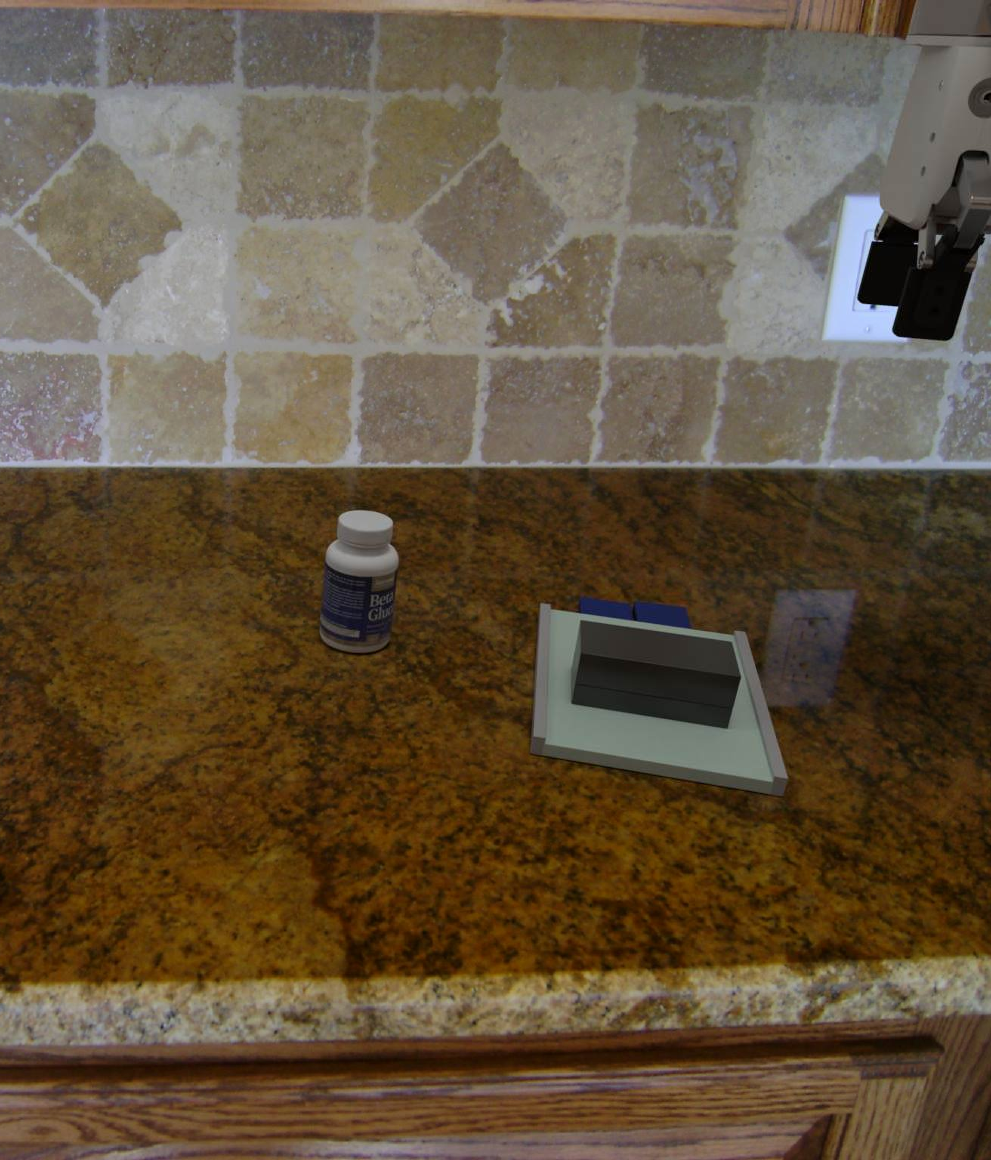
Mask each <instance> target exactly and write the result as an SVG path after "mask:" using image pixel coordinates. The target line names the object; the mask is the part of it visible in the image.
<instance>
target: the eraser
mask: <svg viewBox="0 0 991 1160" xmlns="http://www.w3.org/2000/svg"><path fill="white" fill-rule="evenodd" d="M740 680H741V674H740V670H739V667H738V663H737V659H736V655H735V651H734V648H733V644H732V642H730V641H724V640H717V639H710V638H703V637H696V636H689V635H682V634H675V633H668V632H661V631H654V630H647V629H640V628H633V627H626V626H619V625H613V624H606V623H599V622H592V621H585V620H580V625H579V630H578V636H577V641H576V647H575V652H574V658H573V663H572V668H571V703H572V704H577V705H583V706H589V707H596V708H602V709H608V710H614V711H621V712H627V713H633V714H639V715H646V716H652V717H658V718H664V719H670V720H677V721H683V722H689V723H695V724H702V725H708V726H714V727H720V728H728V726H729V722H730V718H731V714H732V710H733V707H734V703H735V699H736V695H737V692H738V688H739V684H740Z"/></svg>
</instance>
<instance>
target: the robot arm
mask: <svg viewBox="0 0 991 1160" xmlns="http://www.w3.org/2000/svg"><path fill="white" fill-rule="evenodd" d="M904 46H921V49H920V52H919V54H918V57H917V61H916V64H915V67H914V70H913V73H912V76H911V78H910V79H909V86H908V89H907V91H906V95H905V98H904V101H903V104H902V108H901V110H900V115H899V118H898V121H897V125H896V128H895V131H894V135H893V139H892V143H891V146H890V149H889V154H888V158H887V162H886V165H885V170H884V174H883V176H882V177H883V178H882V183H881V187H880V192H879V206H880V208H881V210H883V211H882V213H881V215H880V217H879V219H878V222H877V223H876V225H875V227H874V231H873V240H871V242H870V246H869V250H868V253H867V257H866V261H865V265H864V268H863V272H862V276H861V280H860V284H859V288H858V291H857V295H856V299H857V301H858V302H859V303H860V304H862V305H870V306H871V305H872V306H883V307H893V308H894V307H895V308H897V309H896V313H895V317H894V320H893V325H892V327H891V332H892V334H893V335H894V336H896V337H898V338H903V339H904V338H905V339H917V340H926V341H928V340H929V341H939V342H947V341H950V340H952V338H953V337H954V335H955V332H956V329H957V325H958V323H959V320H960V316H961V312H962V310H963V306H964V303H965V300H966V296H967V293H968V289H969V287H970V283H971V280H972V278H973V277H972V276H973V274H974V272H975V270H976V267H977V265H978V259H979V249H980V247H981V246H983V245H984V244H985V241H986V237H985V236H986V235H991V0H915V2H914V7H913V10H912V15H911V18H910V23H909V25H908V30H907V34H906V38H905V41H904ZM937 236H940V238H939V239H938V241H936V239H937ZM936 242H937V243H936Z"/></svg>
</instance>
